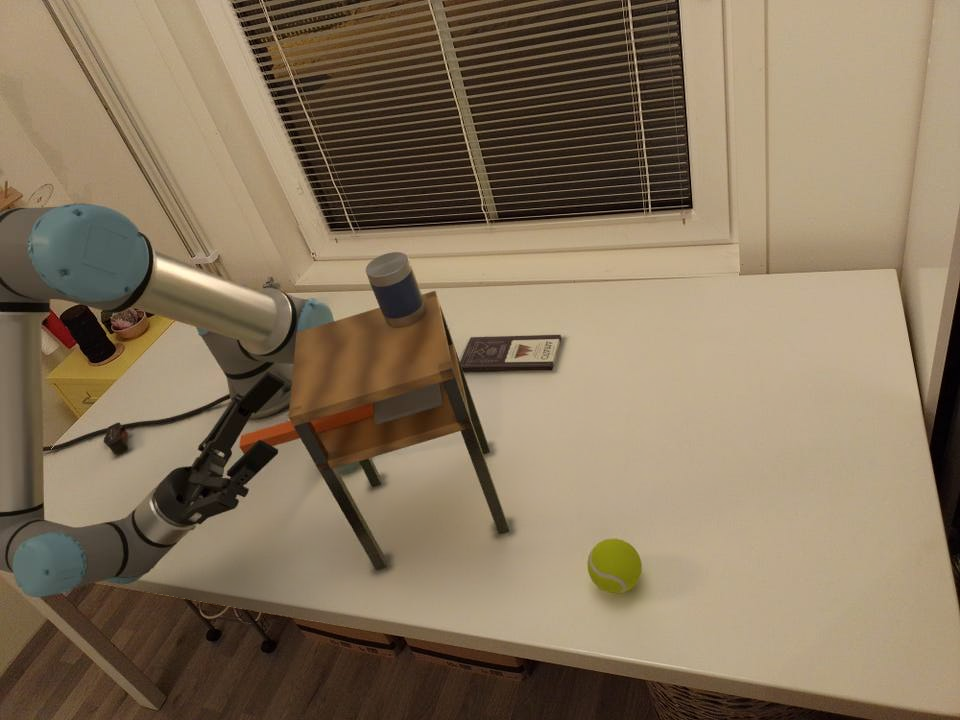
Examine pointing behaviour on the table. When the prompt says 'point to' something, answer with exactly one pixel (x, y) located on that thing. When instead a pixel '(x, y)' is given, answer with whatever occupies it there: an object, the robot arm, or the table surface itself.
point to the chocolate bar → (511, 353)
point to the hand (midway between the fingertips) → (272, 410)
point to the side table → (376, 376)
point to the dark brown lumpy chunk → (116, 438)
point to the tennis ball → (614, 566)
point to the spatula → (352, 416)
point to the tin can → (396, 289)
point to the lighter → (270, 284)
